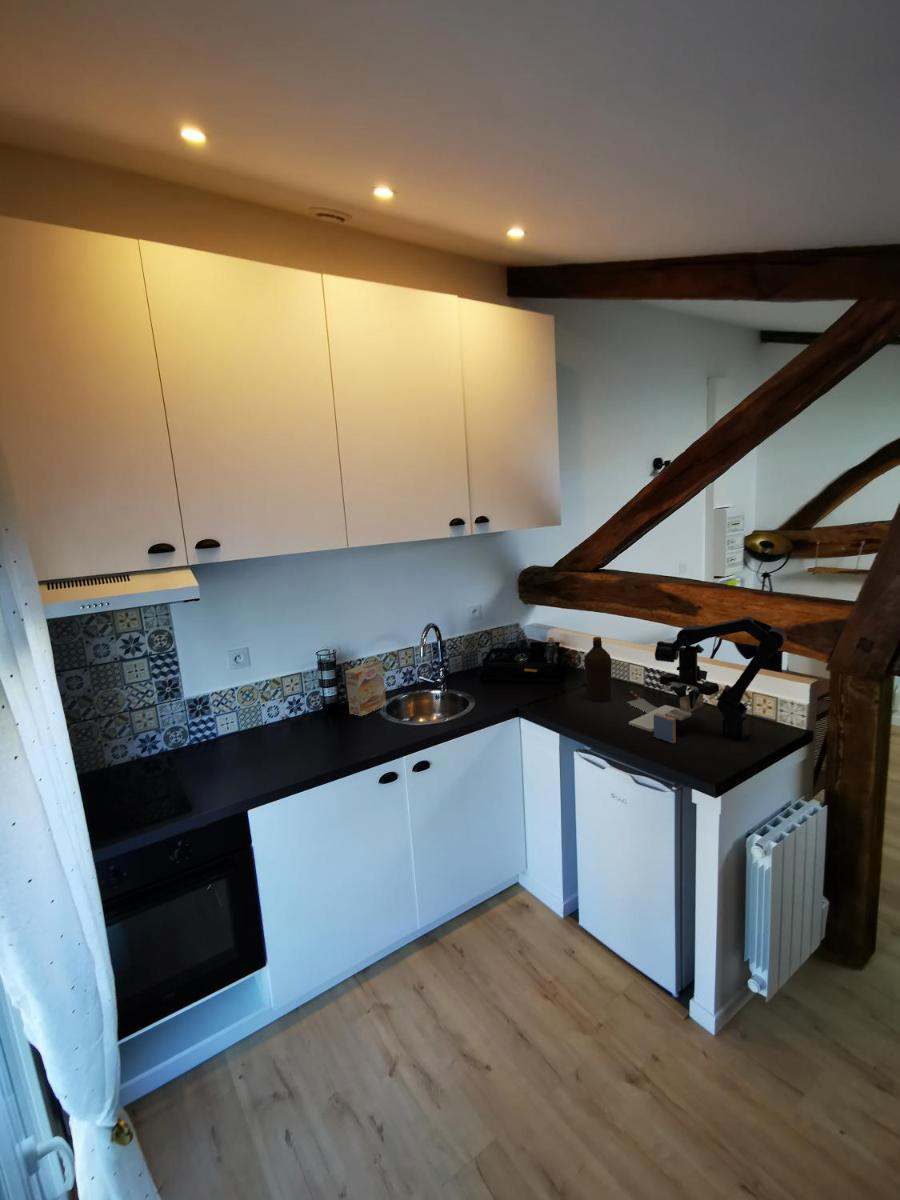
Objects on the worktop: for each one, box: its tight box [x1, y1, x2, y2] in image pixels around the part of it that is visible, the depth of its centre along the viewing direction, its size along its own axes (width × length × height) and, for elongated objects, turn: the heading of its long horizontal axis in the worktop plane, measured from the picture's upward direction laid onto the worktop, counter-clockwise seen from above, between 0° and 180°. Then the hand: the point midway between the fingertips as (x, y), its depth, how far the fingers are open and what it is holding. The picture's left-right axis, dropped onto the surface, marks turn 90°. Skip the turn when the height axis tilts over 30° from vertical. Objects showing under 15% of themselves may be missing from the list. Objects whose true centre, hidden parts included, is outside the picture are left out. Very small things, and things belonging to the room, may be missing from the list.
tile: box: [653, 713, 677, 744], centre depth 184 cm, size 7×2×8 cm, turn 36°
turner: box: [665, 693, 704, 721], centre depth 190 cm, size 16×6×5 cm, turn 126°
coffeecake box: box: [344, 661, 387, 716], centre depth 229 cm, size 15×7×20 cm, turn 143°
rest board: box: [628, 704, 680, 733], centre depth 201 cm, size 9×22×1 cm, turn 126°
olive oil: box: [583, 636, 613, 703], centre depth 223 cm, size 11×11×25 cm
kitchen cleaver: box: [626, 690, 659, 713], centre depth 217 cm, size 24×1×10 cm
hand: (688, 707), depth 191 cm, fingers closed on turner, 2 cm apart
